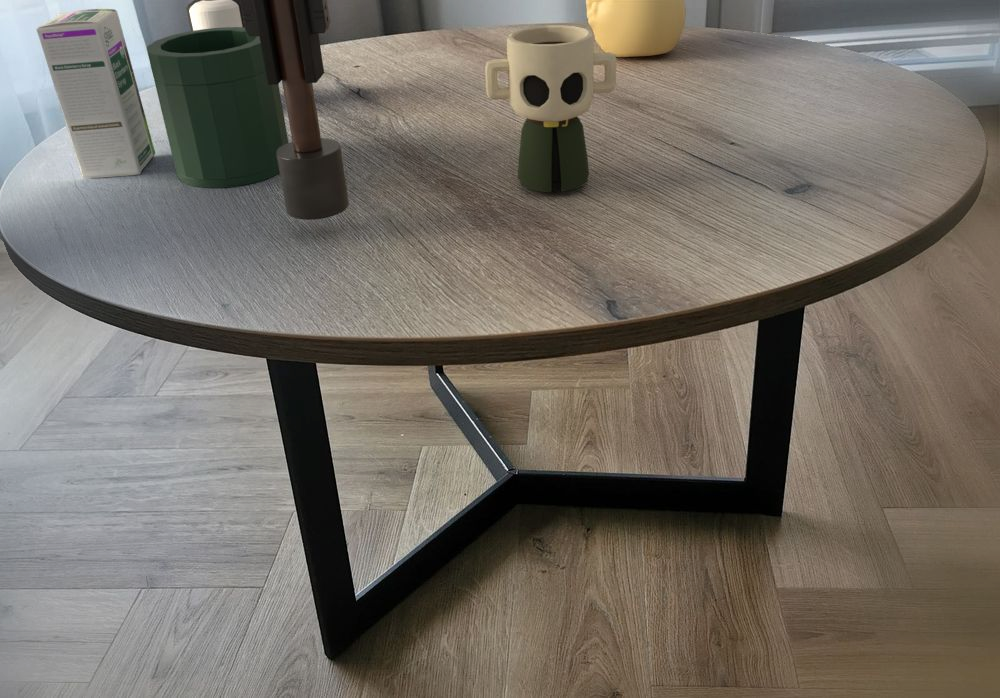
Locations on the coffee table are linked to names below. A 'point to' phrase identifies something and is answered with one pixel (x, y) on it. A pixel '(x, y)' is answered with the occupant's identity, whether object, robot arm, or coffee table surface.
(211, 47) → the jar
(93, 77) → the syrup box
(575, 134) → the character mug
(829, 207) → the coffee table surface
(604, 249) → the coffee table surface
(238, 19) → the medicine bottle
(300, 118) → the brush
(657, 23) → the sculpture
